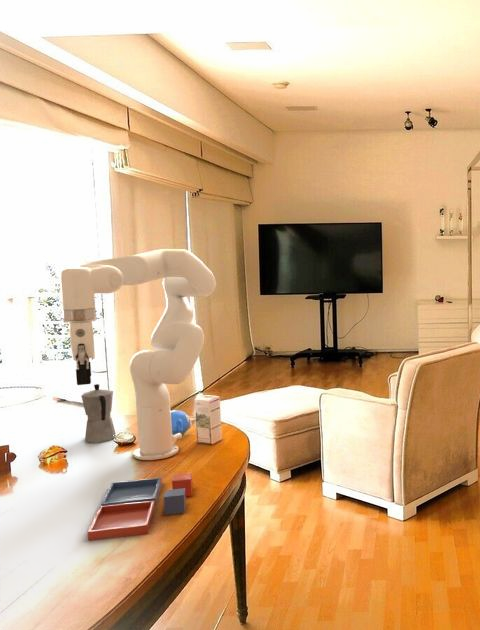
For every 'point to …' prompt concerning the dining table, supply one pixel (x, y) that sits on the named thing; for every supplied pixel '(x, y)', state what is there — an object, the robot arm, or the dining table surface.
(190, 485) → the red block
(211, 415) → the syrup box
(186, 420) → the blue mole toy
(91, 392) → the coffeepot
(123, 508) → the red tray
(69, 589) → the dining table surface
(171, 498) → the blue block
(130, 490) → the blue tray
